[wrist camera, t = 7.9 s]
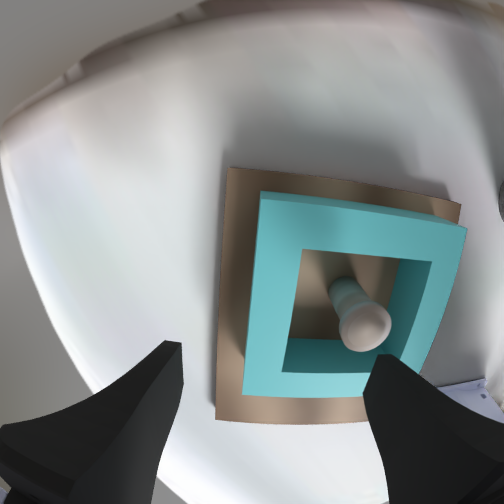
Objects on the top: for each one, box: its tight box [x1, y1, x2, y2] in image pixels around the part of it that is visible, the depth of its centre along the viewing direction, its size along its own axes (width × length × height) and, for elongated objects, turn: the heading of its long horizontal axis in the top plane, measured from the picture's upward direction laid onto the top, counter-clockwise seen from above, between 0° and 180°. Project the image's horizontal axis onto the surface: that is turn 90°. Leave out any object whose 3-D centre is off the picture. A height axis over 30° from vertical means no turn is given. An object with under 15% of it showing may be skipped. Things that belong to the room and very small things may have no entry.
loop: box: [242, 191, 467, 398], centre depth 16 cm, size 11×11×4 cm
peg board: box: [215, 168, 461, 425], centre depth 17 cm, size 15×19×6 cm
